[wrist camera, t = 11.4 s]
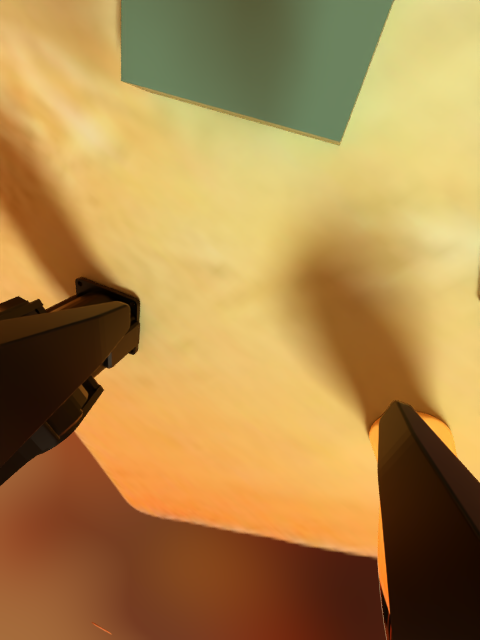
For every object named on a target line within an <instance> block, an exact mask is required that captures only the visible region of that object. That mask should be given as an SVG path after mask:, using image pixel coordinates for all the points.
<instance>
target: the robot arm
mask: <svg viewBox="0 0 480 640" xmlns="http://www.w3.org/2000/svg"><path fill="white" fill-rule="evenodd" d="M75 283H76V293H77V294H76V295H74V296H72V297H70V298H68V299H66V300H64V301H62V302H60V303H58V304H56V305H54V306H52V307H50V308H48V309H46V310H45V309H44V307H43V304H42V302H41V301H40V299H37V300H35V301H32V302H30V303H29V302H28V300H27V301H26V300H24V299H23V298H21V297H19V296H18V297H15V298H13V299H10V300H8V301H6V302H3V303H1V304H0V486H1V485H2V484H3V483H4V482H5V481H6V480H8V479H9V478H10V477H11V476H12V475H13V474H14V473H15V472H17V471H18V470H19V469H20V468H21V467H22V466H24V465H25V464H26V463H27V462H28V461H30V460H31V459H32V458H34V457H35V456H37V455H39V454H42V453H44V452H46V451H48V450H50V449H52V448H53V447H55V446H57V445H58V444H59V443H61V442H62V441H63V440H65V439H66V438H67V437H68V436H69V435H70V434H71V433H72V432H73V431H74V430H75V429H76V428H77V427H78V426H79V424H80V423H81V422H82V420H83V419H84V417H85V416H86V415H87V413H88V412H89V410H90V409H91V408H92V406H93V405H94V403H95V402H96V401H97V399H98V398H99V396H100V395H101V394H102V392H103V391H104V389H103V388H102V386H101V385H99V384H98V383H97V382H96V380H95V379H94V377H96V376H97V375H98V374H99V373H100V372H101V371H102V370H104V369H105V368H108V369H110V368H112V367H113V366H114V365H116V364H117V363H118V362H119V361H120V360H121V359H122V358H123V357H124V356H126V355H127V354H128V353H129V354H132V355H134V354H135V353H136V352H137V351H138V344H139V334H140V323H139V316H140V302H139V300H138V299H136V298H134V297H132V296H129V295H127V294H124V293H122V292H119V291H116V290H114V289H111V288H109V287H106V286H104V285H101V284H99V283H96V282H93V281H91V280H88V279H86V278H83V277H80V278H77V279H76V280H75ZM133 303H134V304H135V305H134V304H133ZM378 484H379V495H380V507H381V518H382V529H383V540H384V551H385V563H386V574H387V585H388V596H389V608H390V619H391V630H392V640H480V483H479V481H478V480H477V479H476V478H475V477H474V476H473V475H472V474H471V473H470V471H469V470H468V469H467V468H466V467H465V466H464V465H463V464H462V462H461V461H460V460H459V459H458V458H457V457H456V456H455V455H454V454H453V452H452V451H451V450H450V449H449V448H448V447H447V446H446V445H445V444H444V442H443V441H442V440H441V439H440V438H439V437H438V436H437V435H436V434H435V432H434V431H433V430H432V429H431V428H430V427H429V426H428V425H427V424H426V422H425V421H424V420H423V419H422V418H421V417H420V416H419V415H418V413H417V412H416V411H415V410H414V409H413V408H412V407H411V406H410V405H408V404H406V403H403V402H400V401H397V400H396V401H393V402H392V403H391V404H390V406H389V407H388V408H387V410H386V411H385V412H384V414H383V415H382V416H381V418H380V421H379V433H378Z"/></svg>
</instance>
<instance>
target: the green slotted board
mask: <svg viewBox="0 0 480 640" xmlns="http://www.w3.org/2000/svg"><path fill="white" fill-rule="evenodd" d="M393 2H394V0H121V81H123V82H125V83H128V84H130V85H133V86H135V87H138V88H140V89H143V90H145V91H148V92H151V93H155V94H158V95H162V96H165V97H169V98H172V99H176V100H180V101H183V102H187V103H190V104H194V105H197V106H201V107H204V108H208V109H212V110H215V111H219V112H222V113H226V114H229V115H233V116H236V117H240V118H244V119H247V120H251V121H254V122H258V123H261V124H265V125H268V126H272V127H276V128H279V129H283V130H286V131H290V132H293V133H297V134H300V135H304V136H308V137H311V138H315V139H318V140H322V141H325V142H329V143H332V144H336V145H340V143H341V141H342V138H343V135H344V133H345V130H346V127H347V125H348V122H349V119H350V117H351V114H352V111H353V109H354V106H355V103H356V101H357V98H358V95H359V93H360V90H361V87H362V85H363V82H364V79H365V77H366V74H367V71H368V69H369V66H370V63H371V61H372V58H373V55H374V53H375V50H376V47H377V45H378V42H379V39H380V37H381V34H382V31H383V29H384V26H385V23H386V21H387V18H388V15H389V13H390V10H391V7H392V5H393Z"/></svg>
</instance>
